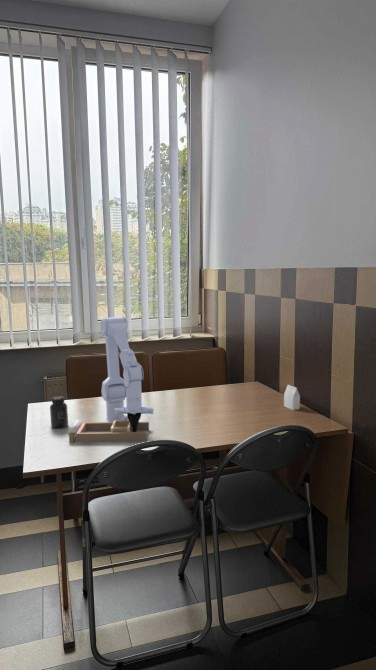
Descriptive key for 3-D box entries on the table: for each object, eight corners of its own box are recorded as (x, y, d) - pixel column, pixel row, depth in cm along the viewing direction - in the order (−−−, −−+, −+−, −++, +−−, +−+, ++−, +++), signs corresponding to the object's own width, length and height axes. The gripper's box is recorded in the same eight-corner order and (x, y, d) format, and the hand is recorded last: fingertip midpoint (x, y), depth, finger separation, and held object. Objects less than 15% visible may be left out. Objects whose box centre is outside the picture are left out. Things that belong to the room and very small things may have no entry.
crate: (114, 430, 189) (114, 420, 188) (132, 430, 189) (131, 420, 188) (110, 438, 180) (110, 428, 179) (129, 438, 180) (129, 428, 179)
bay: (75, 430, 191) (74, 418, 190) (149, 429, 191) (148, 417, 190) (67, 442, 178) (66, 430, 177) (146, 441, 178) (146, 429, 177)
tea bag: (292, 410, 215) (293, 388, 214) (283, 406, 221) (284, 385, 220) (299, 409, 217) (300, 387, 215) (290, 405, 223) (291, 384, 221)
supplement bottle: (69, 423, 200) (68, 395, 198) (66, 428, 193) (64, 399, 191) (53, 423, 200) (51, 395, 198) (49, 428, 193) (47, 400, 191)
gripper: (113, 400, 178) (114, 435, 180) (152, 400, 178) (153, 435, 180) (115, 395, 185) (116, 429, 187) (153, 395, 185) (154, 428, 187)
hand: (134, 431), depth 184 cm, fingers closed
